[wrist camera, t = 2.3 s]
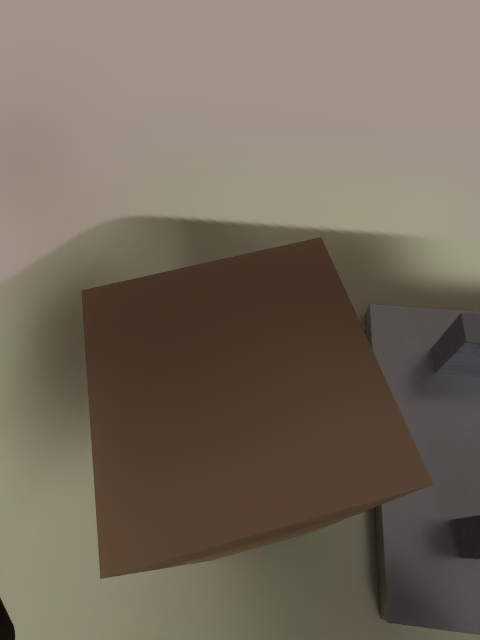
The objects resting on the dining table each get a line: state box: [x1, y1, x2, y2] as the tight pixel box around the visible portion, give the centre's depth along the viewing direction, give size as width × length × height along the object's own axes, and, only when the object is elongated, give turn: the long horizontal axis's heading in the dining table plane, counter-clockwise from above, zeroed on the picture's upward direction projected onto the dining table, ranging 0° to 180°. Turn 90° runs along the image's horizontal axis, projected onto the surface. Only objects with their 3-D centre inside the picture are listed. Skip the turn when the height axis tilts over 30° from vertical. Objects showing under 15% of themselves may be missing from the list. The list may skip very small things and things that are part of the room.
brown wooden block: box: [82, 238, 433, 579], centre depth 11 cm, size 4×4×12 cm
